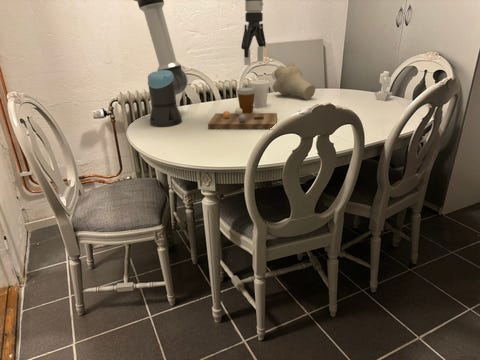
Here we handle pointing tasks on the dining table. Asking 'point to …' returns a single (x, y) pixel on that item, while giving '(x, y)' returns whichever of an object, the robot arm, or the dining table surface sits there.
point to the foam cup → (260, 93)
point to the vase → (292, 82)
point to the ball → (226, 114)
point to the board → (250, 123)
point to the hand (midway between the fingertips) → (254, 63)
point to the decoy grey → (241, 118)
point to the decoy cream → (238, 111)
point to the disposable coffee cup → (246, 99)
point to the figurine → (384, 87)
